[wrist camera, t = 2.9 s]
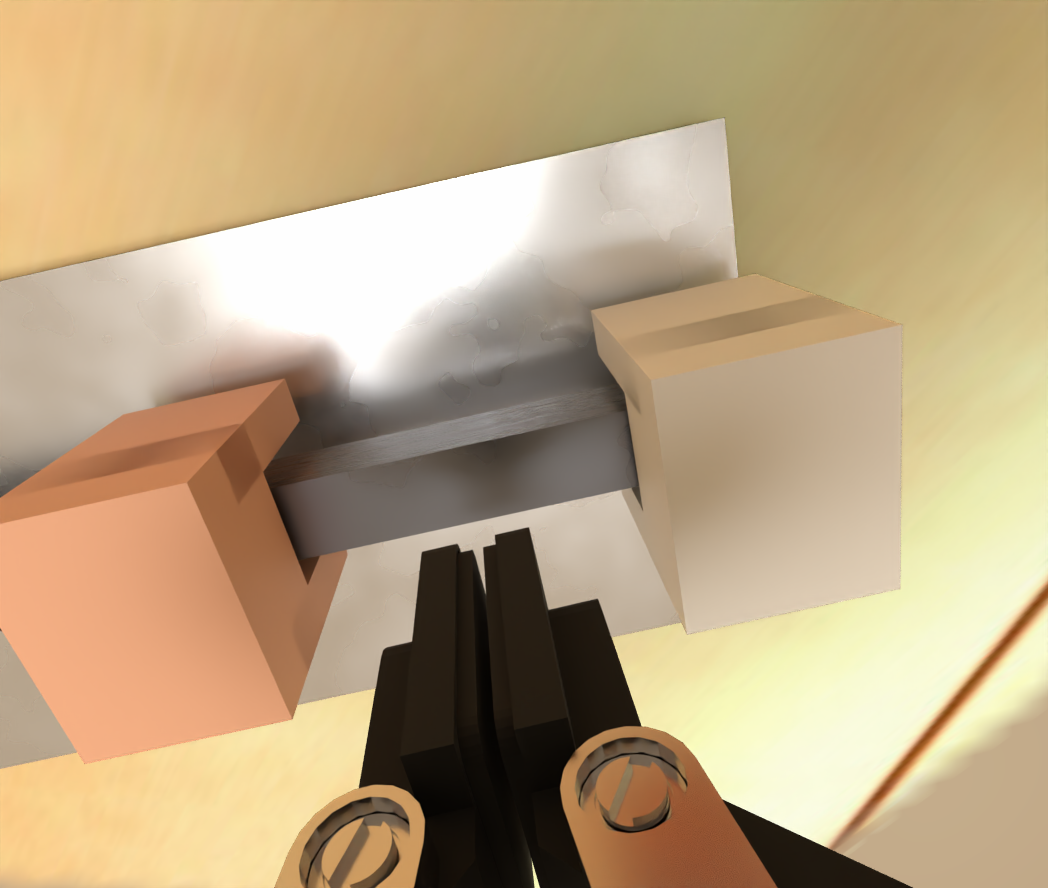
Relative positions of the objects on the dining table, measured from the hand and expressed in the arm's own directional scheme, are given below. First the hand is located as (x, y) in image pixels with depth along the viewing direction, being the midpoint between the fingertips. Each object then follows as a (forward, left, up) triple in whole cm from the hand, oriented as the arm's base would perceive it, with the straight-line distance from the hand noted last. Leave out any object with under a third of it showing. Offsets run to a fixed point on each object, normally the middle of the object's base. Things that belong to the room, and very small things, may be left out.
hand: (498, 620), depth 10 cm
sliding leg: (+6, 0, -8) cm, 10 cm away
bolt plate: (+5, +1, -10) cm, 11 cm away
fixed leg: (-5, 0, -8) cm, 10 cm away
